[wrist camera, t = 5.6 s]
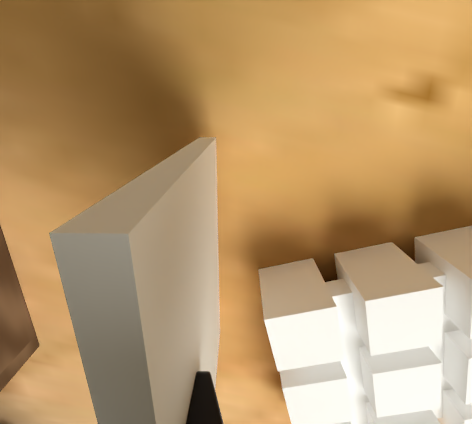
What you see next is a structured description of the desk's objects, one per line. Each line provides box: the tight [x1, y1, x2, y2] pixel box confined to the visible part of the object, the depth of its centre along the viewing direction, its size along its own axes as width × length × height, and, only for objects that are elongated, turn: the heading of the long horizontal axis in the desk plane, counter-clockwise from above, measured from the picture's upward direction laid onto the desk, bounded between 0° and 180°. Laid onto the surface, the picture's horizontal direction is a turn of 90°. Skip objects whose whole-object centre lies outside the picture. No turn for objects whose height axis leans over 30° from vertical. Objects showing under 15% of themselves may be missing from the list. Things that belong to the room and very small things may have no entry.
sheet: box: [49, 137, 220, 424], centre depth 10 cm, size 12×1×11 cm, turn 0°
